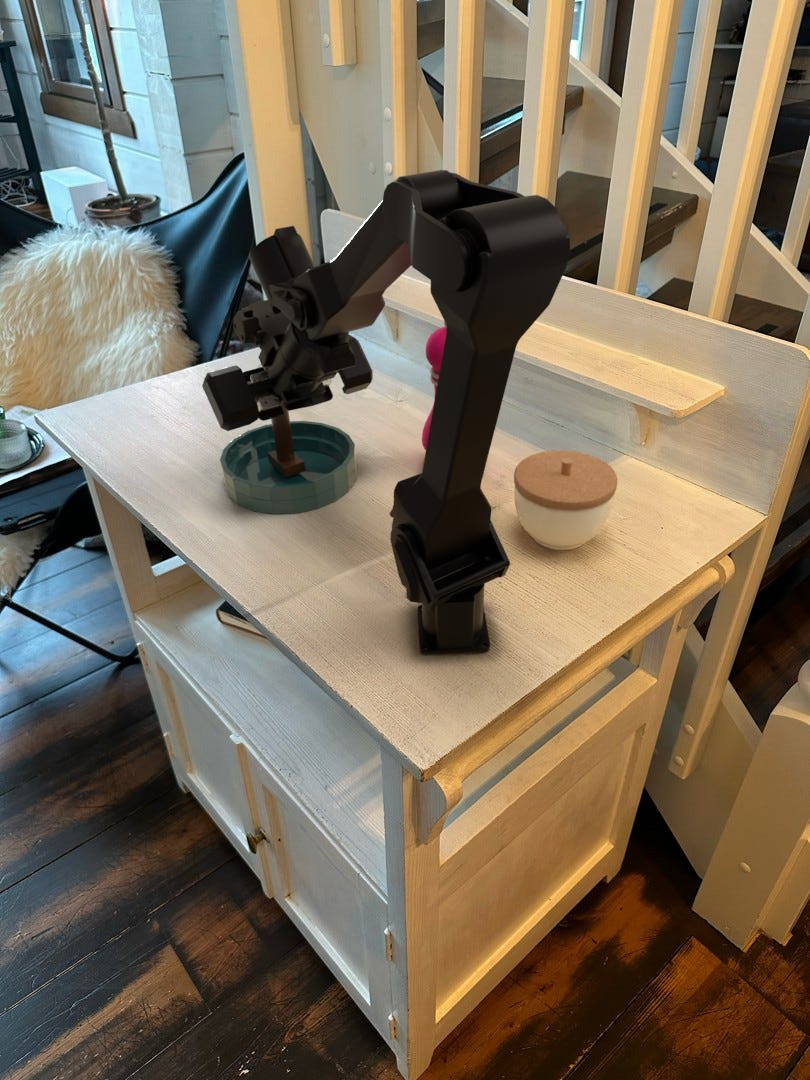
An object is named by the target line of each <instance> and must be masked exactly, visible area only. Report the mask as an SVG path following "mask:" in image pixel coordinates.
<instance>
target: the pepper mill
mask: <svg viewBox="0 0 810 1080" xmlns="http://www.w3.org/2000/svg"><path fill="white" fill-rule="evenodd" d="M443 325H444V326H442V327H440V328H437V329H436V330H434V331H433V332H432V333H431V334H430V335H429V337H428V338H427V341H426V345H425V358H426V360H427V362H428V363H429V365H430V366H431V368H430V370H429V373H430V377H429V380H430V382H431V384H433V388H434V401H433V404H432V407H431V410H430V412H429V415H428V416H427V418H426V420H425V422H424V425H423V428H422V433H421V445H422V447H423V449H424V450H425V451H426V448H427V442H428V436H429V430H430V425H431V419H432V413H433V407H434V402H435V396H436V390H437V384H438V379H439V373H440V367H441V361H442V356H443V350H444V344H445V338H446V332H447V325H446V323H445V321H444V320H443Z"/></svg>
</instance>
